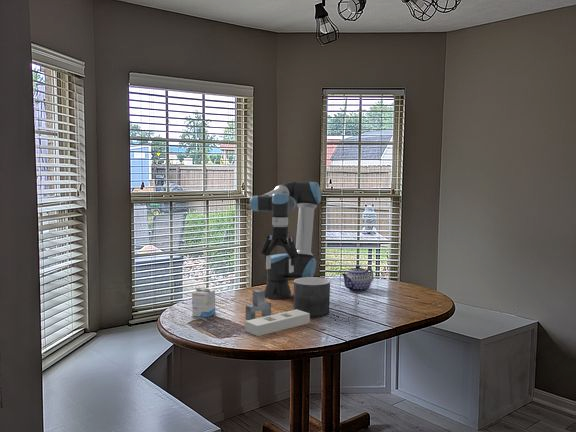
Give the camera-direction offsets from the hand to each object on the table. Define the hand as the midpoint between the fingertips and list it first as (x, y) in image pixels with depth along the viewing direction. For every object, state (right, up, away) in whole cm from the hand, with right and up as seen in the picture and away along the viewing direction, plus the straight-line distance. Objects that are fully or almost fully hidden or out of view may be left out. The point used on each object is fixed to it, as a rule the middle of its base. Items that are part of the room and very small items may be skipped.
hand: (279, 270), depth 248 cm
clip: (-10, -22, 0) cm, 24 cm away
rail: (0, -24, -15) cm, 28 cm away
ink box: (-37, -22, +4) cm, 43 cm away
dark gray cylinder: (+16, -22, +10) cm, 29 cm away
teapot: (+45, -18, +57) cm, 75 cm away
